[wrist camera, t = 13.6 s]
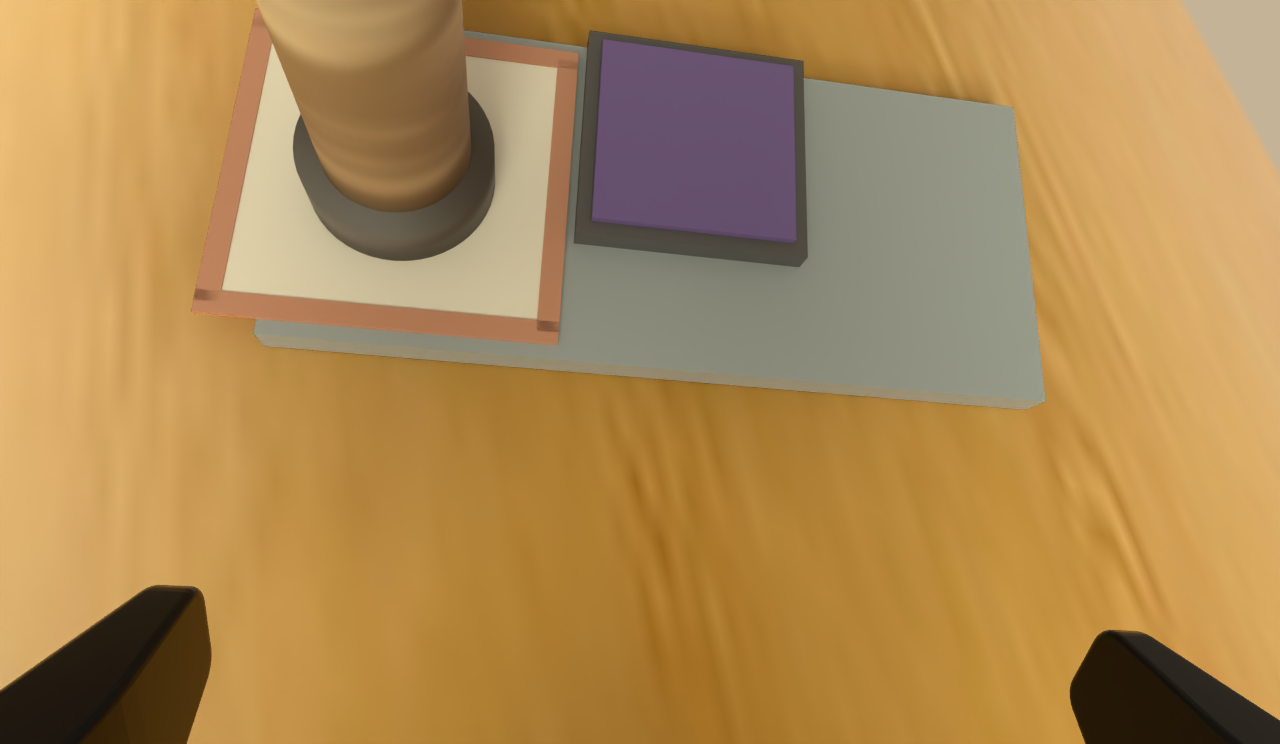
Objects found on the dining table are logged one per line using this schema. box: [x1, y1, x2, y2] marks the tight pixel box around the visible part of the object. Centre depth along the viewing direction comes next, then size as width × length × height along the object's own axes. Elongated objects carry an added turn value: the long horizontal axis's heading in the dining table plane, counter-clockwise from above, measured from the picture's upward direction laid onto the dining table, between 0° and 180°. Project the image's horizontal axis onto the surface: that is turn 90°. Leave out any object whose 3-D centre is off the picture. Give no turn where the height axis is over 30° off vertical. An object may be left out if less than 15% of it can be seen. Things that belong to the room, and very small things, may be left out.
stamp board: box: [191, 8, 1046, 410], centre depth 24 cm, size 24×10×2 cm, turn 88°
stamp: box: [255, 0, 495, 261], centre depth 16 cm, size 5×5×13 cm
